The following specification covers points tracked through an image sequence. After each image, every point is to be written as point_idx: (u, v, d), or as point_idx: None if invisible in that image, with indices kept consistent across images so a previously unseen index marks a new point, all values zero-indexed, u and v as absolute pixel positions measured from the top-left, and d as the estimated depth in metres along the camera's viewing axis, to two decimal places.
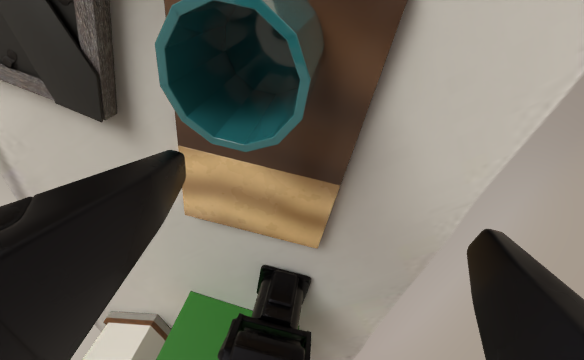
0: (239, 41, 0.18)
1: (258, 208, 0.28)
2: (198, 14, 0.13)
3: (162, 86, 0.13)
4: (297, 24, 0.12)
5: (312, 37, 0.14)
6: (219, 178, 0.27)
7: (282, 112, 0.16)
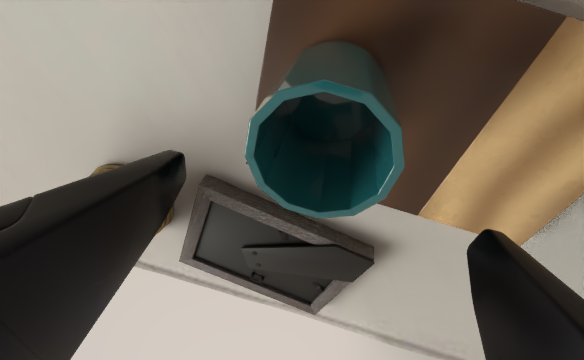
0: (322, 128, 0.19)
1: (554, 156, 0.18)
2: (275, 165, 0.15)
3: (319, 217, 0.14)
4: (281, 83, 0.12)
5: (308, 62, 0.13)
6: (477, 190, 0.21)
7: None
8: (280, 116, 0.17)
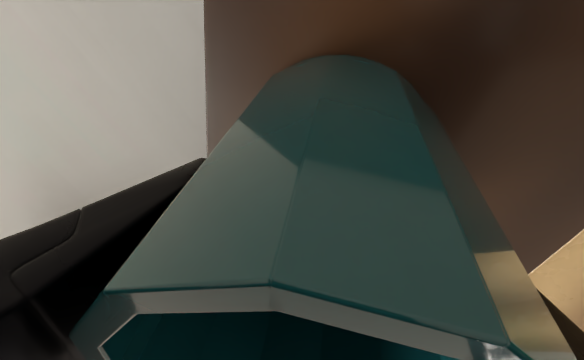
0: None
1: None
2: (217, 329, 0.07)
3: None
4: None
5: (261, 121, 0.05)
6: None
7: None
8: None
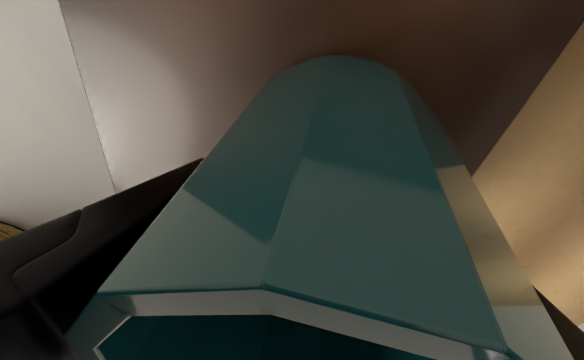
0: None
1: None
2: (215, 330, 0.07)
3: None
4: None
5: (260, 122, 0.05)
6: None
7: None
8: None
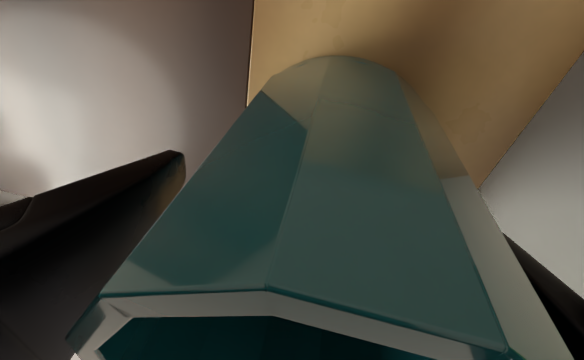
0: None
1: None
2: (215, 330, 0.07)
3: None
4: None
5: (260, 123, 0.05)
6: None
7: None
8: None
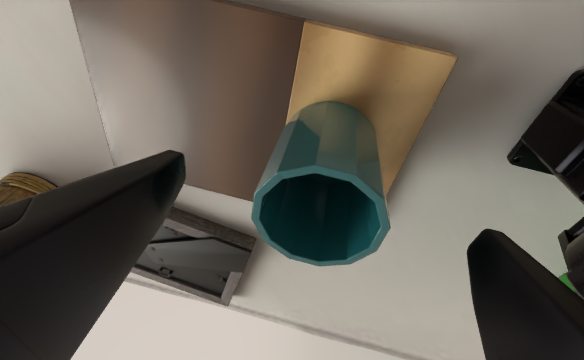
0: None
1: None
2: (279, 218, 0.17)
3: (319, 265, 0.16)
4: (279, 159, 0.14)
5: (303, 133, 0.15)
6: None
7: None
8: None
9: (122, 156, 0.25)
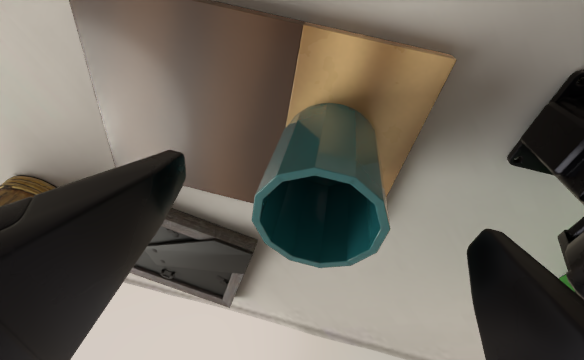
0: None
1: None
2: (280, 220, 0.17)
3: (320, 266, 0.16)
4: (279, 162, 0.14)
5: (303, 136, 0.15)
6: None
7: None
8: None
9: (123, 159, 0.25)
